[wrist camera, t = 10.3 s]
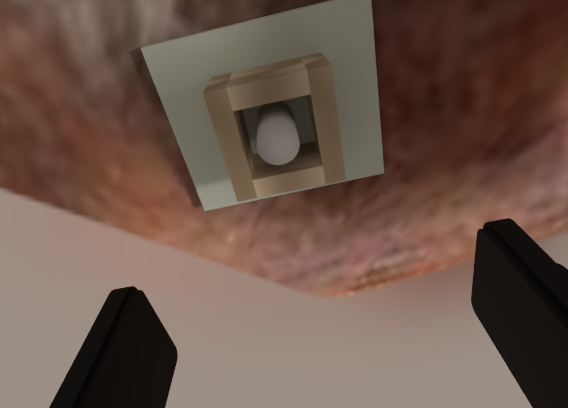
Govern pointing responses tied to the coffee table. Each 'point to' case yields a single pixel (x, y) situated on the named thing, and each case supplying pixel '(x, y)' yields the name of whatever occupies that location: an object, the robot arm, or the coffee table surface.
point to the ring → (267, 89)
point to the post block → (278, 115)
